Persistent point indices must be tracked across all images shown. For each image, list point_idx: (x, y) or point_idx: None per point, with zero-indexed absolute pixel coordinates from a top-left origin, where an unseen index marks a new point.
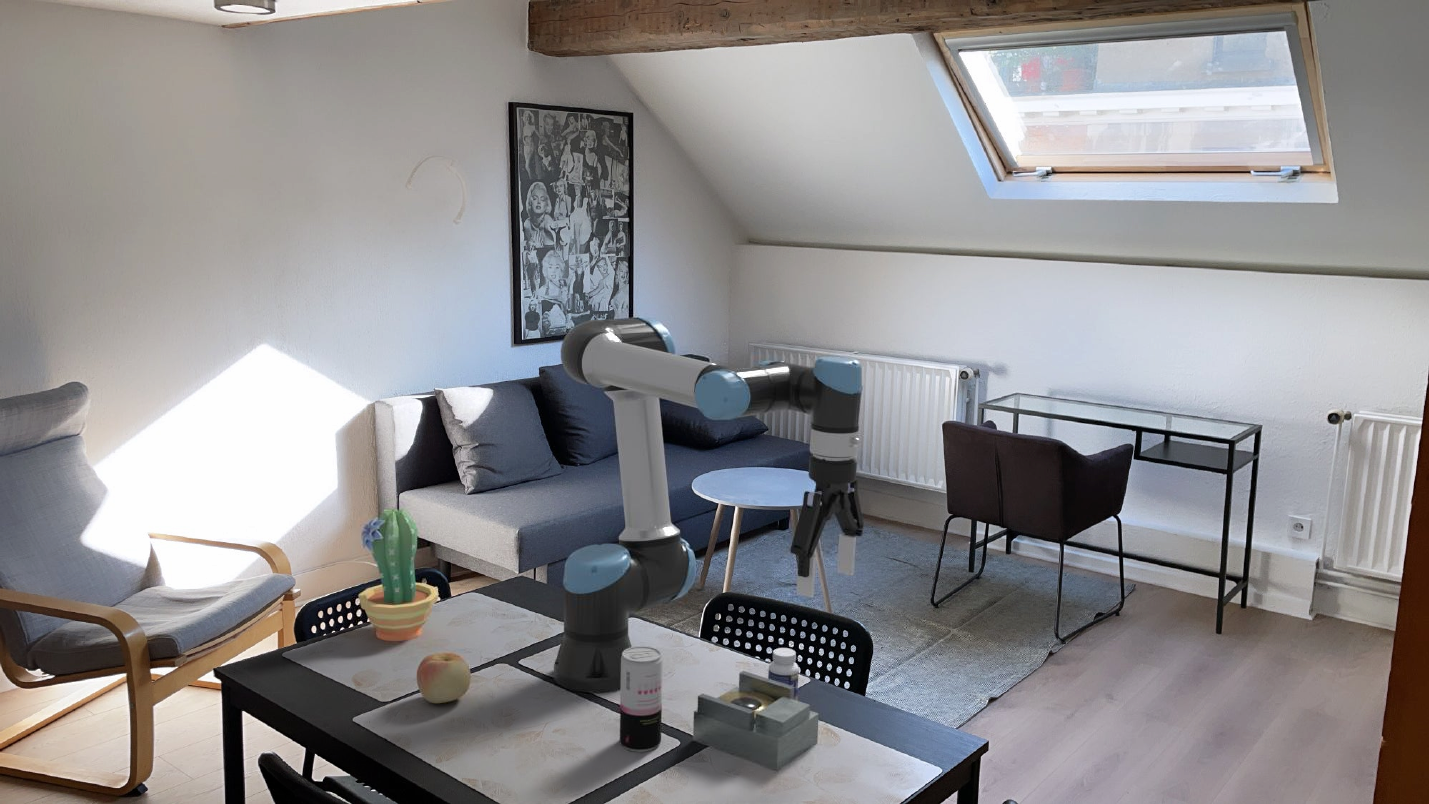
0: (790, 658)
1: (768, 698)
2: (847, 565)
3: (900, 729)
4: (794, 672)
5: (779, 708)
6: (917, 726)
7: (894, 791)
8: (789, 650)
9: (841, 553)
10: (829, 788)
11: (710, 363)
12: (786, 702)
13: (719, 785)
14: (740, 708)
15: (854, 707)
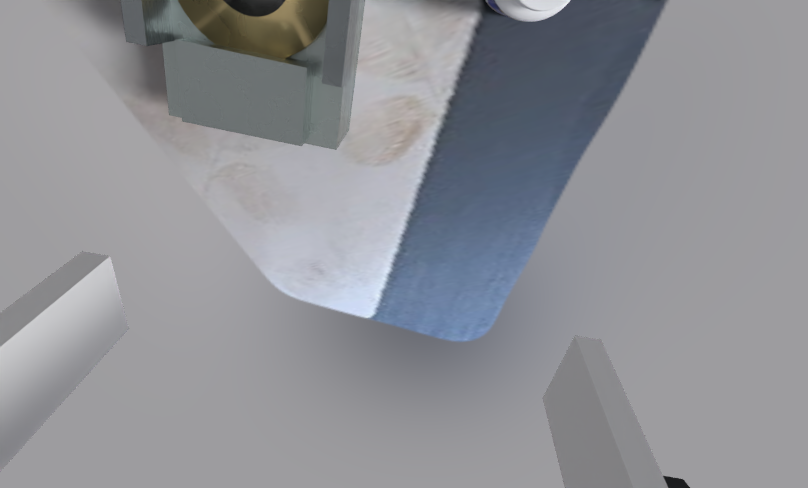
0: (519, 2)
1: (316, 14)
2: (566, 426)
3: (474, 245)
4: (513, 17)
5: (239, 85)
6: (498, 266)
7: (269, 278)
8: None
9: (605, 468)
10: (214, 198)
11: None
12: (279, 89)
13: (80, 14)
14: (129, 1)
15: (539, 148)
